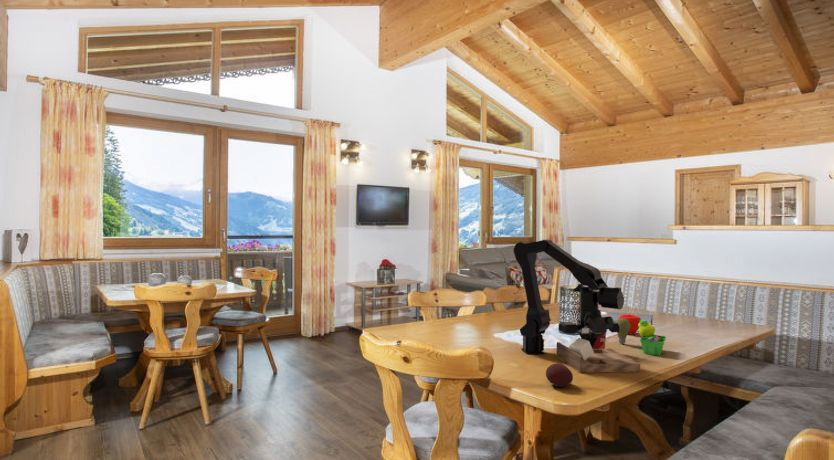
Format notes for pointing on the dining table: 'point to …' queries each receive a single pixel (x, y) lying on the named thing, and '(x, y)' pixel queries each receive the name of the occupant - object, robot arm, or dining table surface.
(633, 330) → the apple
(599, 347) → the paper cup
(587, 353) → the block
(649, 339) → the fruit basket
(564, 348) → the trap board
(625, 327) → the light bulb
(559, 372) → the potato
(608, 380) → the dining table surface
